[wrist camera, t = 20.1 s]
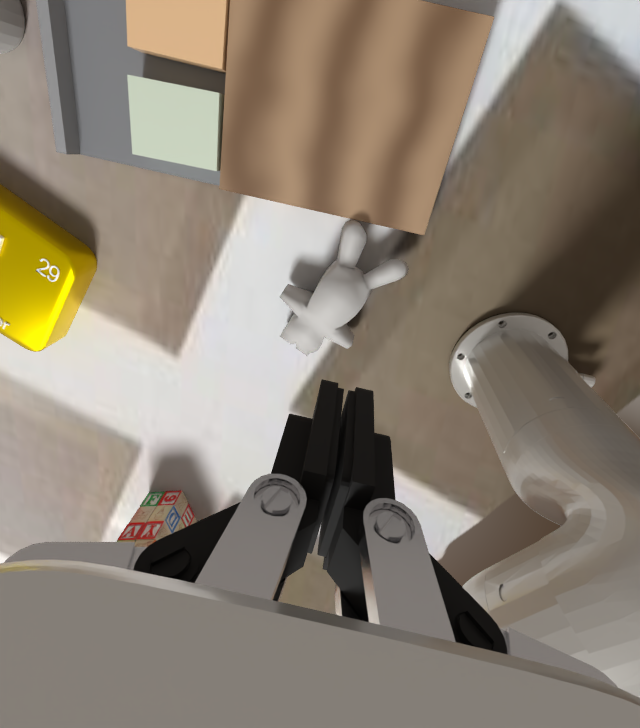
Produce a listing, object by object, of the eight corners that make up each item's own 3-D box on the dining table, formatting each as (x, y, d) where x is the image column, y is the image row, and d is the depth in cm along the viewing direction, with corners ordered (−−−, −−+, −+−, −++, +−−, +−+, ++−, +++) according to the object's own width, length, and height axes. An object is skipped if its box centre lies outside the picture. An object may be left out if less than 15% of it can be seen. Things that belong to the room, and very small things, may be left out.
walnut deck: (485, 26, 30) (494, 17, 28) (420, 230, 38) (424, 235, 36) (242, -29, 30) (232, -43, 28) (227, 186, 38) (219, 188, 36)
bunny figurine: (255, 328, 41) (340, 217, 33) (268, 307, 45) (348, 205, 37) (323, 377, 43) (419, 285, 35) (330, 354, 48) (417, 265, 39)
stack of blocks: (223, 571, 71) (197, 645, 60) (192, 571, 72) (162, 644, 61) (182, 489, 61) (143, 560, 51) (147, 491, 62) (102, 561, 52)
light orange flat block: (238, -17, 30) (228, -30, 28) (231, 74, 33) (222, 69, 31) (141, -41, 30) (123, -56, 28) (143, 53, 33) (127, 45, 31)
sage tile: (228, 96, 34) (219, 92, 32) (225, 170, 37) (216, 171, 35) (142, 79, 34) (127, 74, 32) (146, 154, 37) (132, 154, 35)
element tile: (-49, 271, 47) (-90, 283, 43) (-23, 164, 40) (-68, 166, 36) (63, 343, 50) (36, 360, 46) (104, 255, 44) (77, 266, 40)
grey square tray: (242, -29, 30) (232, -42, 28) (227, 186, 38) (219, 188, 36) (47, -73, 30) (24, -89, 28) (73, 152, 38) (56, 151, 36)
